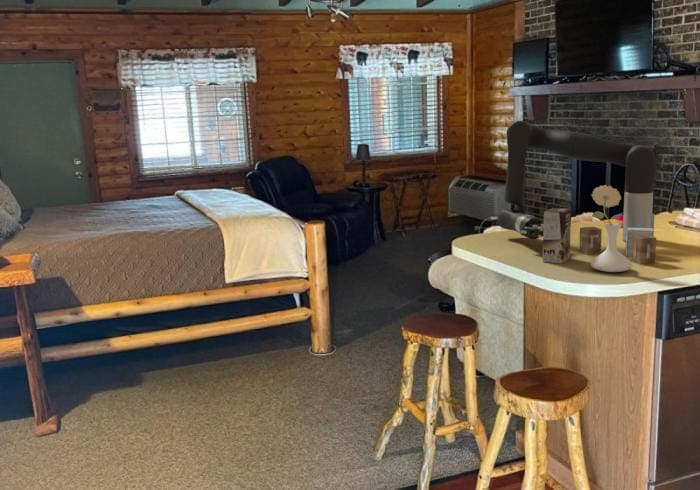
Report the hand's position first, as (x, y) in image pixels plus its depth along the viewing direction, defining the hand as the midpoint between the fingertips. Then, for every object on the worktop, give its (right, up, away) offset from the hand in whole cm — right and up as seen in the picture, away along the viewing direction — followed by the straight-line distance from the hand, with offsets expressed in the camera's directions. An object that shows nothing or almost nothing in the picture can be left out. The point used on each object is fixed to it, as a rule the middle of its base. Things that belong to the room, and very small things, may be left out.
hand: (550, 235), depth 216 cm
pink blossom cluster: (+43, +4, +52) cm, 67 cm away
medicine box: (+28, -7, -2) cm, 29 cm away
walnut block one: (+25, -9, -11) cm, 29 cm away
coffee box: (+1, -8, -4) cm, 9 cm away
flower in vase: (+12, -11, -19) cm, 25 cm away
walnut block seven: (+15, -6, +6) cm, 17 cm away
